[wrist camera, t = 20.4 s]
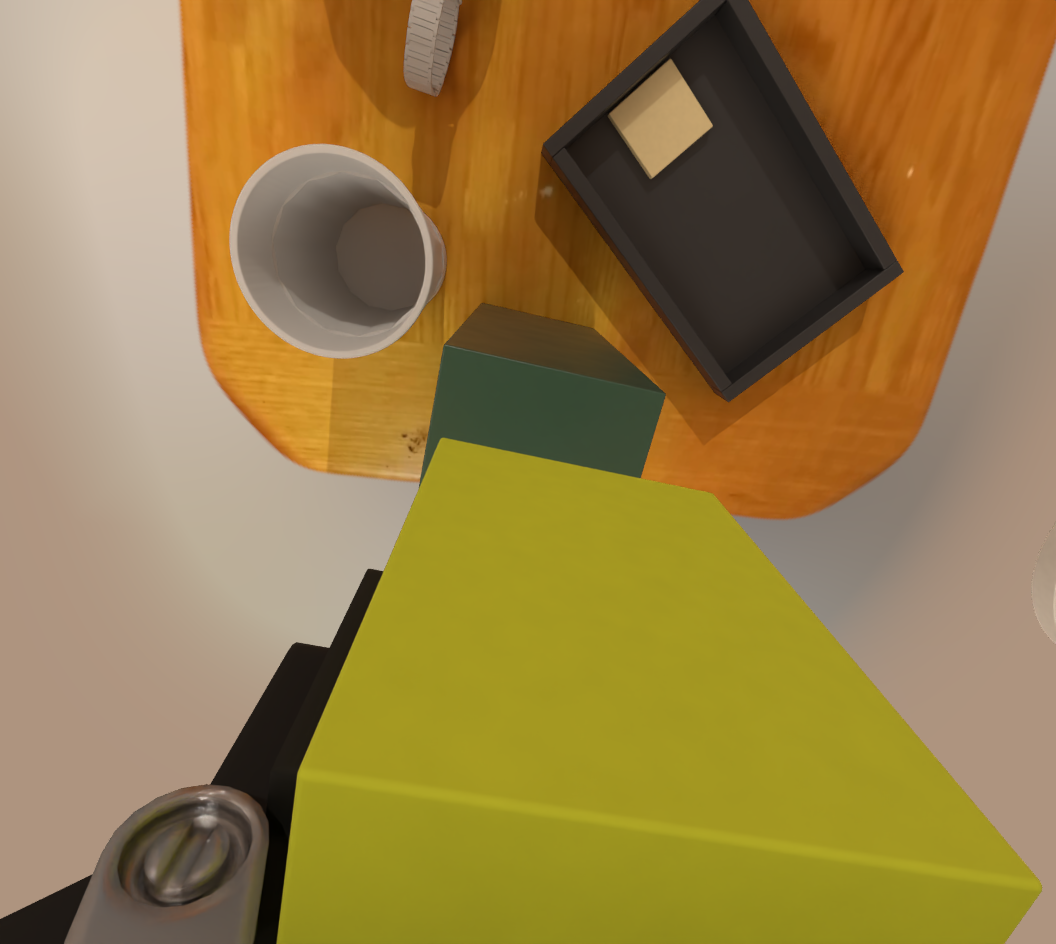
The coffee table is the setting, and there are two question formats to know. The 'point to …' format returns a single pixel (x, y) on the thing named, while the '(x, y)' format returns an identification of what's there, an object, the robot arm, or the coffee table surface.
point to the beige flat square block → (660, 119)
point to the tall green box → (543, 393)
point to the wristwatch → (429, 43)
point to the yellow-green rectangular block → (618, 742)
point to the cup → (334, 251)
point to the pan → (729, 203)
